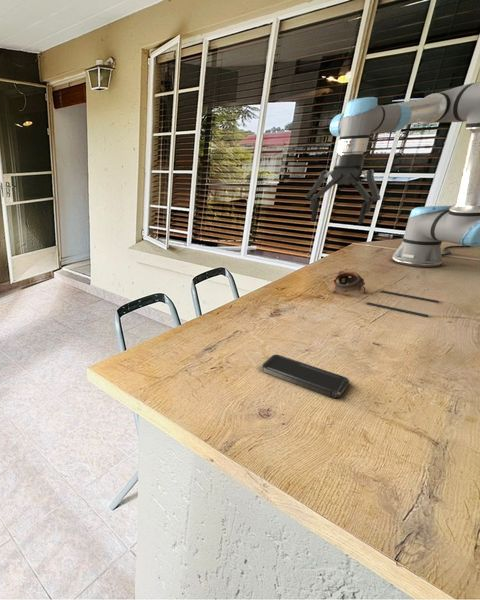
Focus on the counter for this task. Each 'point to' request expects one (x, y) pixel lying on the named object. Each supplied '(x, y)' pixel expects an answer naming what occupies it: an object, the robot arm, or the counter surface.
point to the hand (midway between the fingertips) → (335, 221)
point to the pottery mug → (348, 282)
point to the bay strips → (401, 309)
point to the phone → (306, 375)
